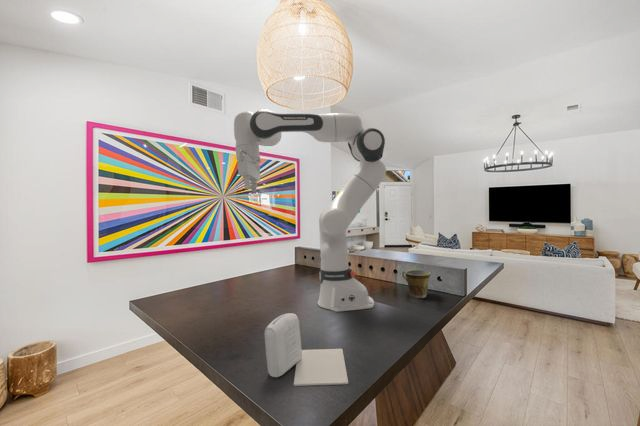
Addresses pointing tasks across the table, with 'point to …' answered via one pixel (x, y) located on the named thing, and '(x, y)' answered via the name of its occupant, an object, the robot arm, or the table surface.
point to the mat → (321, 368)
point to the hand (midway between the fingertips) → (251, 190)
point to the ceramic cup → (417, 282)
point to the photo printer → (282, 344)
